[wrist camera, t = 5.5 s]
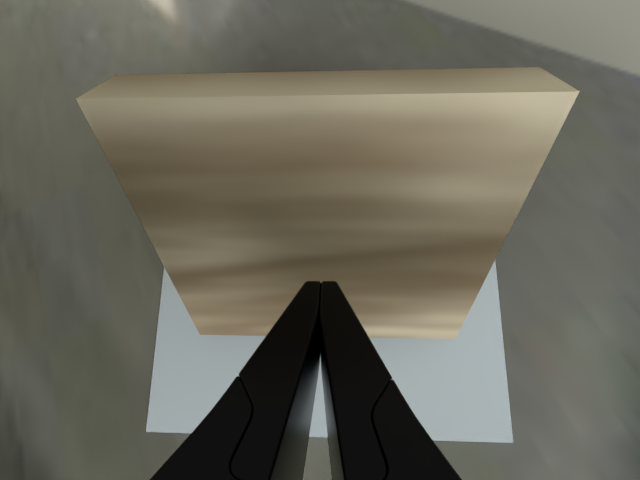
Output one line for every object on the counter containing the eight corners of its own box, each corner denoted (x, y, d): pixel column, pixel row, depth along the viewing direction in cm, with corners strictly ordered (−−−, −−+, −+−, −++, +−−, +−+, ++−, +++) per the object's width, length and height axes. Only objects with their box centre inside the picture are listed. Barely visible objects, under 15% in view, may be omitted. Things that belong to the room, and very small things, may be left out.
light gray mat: (508, 438, 14) (513, 442, 14) (151, 428, 15) (145, 431, 14) (475, 94, 17) (478, 89, 17) (186, 98, 18) (183, 93, 18)
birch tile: (455, 338, 14) (579, 91, 7) (199, 334, 14) (75, 99, 7) (443, 300, 15) (536, 64, 8) (212, 297, 15) (119, 72, 9)
